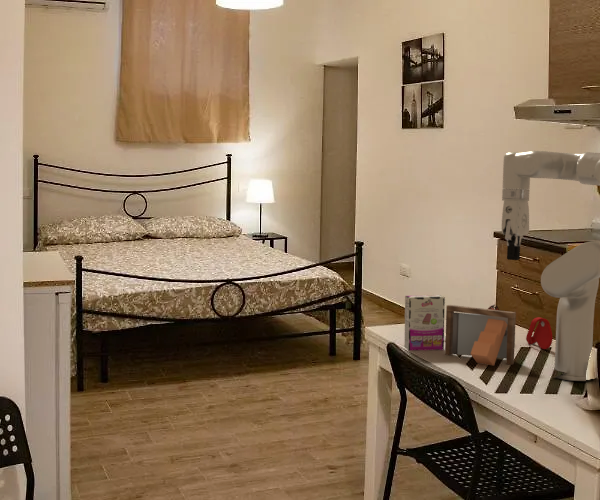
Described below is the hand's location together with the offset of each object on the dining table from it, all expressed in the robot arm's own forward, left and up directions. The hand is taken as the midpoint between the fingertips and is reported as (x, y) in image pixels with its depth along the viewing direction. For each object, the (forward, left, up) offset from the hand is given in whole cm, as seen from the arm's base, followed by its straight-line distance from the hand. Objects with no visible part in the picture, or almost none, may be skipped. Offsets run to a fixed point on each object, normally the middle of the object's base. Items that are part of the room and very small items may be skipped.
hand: (513, 259), depth 241 cm
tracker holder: (-1, -18, -29) cm, 34 cm away
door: (+13, +9, -28) cm, 32 cm away
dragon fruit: (+15, -19, -29) cm, 38 cm away
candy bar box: (+24, +8, -29) cm, 38 cm away
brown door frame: (+5, +9, -28) cm, 30 cm away
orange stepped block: (+1, +10, -23) cm, 25 cm away
